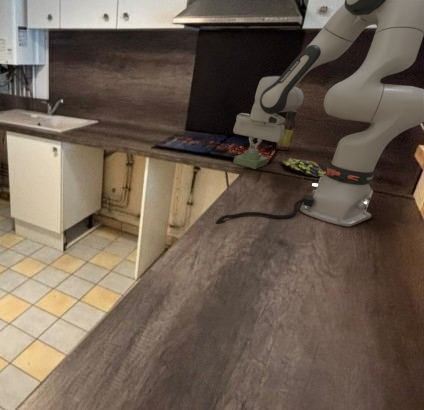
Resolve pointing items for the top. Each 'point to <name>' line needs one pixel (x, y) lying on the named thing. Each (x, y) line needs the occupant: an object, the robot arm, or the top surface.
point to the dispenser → (251, 160)
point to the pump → (253, 151)
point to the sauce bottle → (287, 131)
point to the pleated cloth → (304, 167)
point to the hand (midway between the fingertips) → (253, 148)
